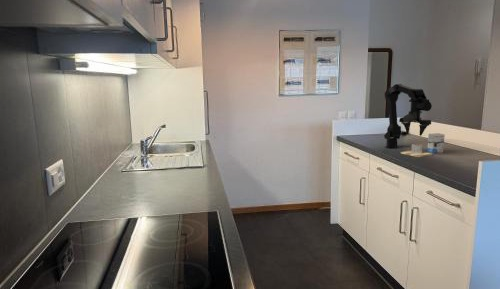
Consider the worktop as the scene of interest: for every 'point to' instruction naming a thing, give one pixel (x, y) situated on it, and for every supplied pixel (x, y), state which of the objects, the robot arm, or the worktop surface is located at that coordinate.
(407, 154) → the shaft block
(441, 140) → the ink box
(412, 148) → the tube
